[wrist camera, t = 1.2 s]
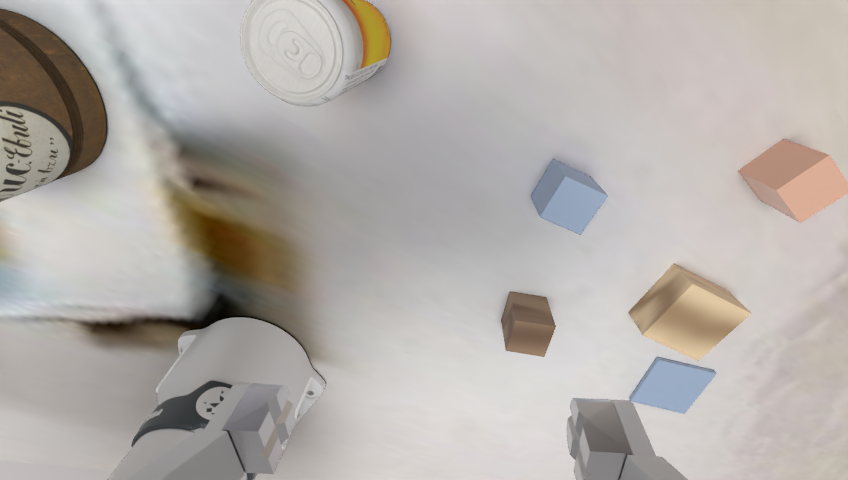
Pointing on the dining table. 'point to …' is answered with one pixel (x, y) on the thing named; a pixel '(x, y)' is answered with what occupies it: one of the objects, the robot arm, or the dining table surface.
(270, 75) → the beer can
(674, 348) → the oak base
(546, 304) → the walnut cube
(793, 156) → the terracotta cube
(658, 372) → the tile
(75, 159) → the wooden container
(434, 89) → the dining table surface
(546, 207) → the blue cube
